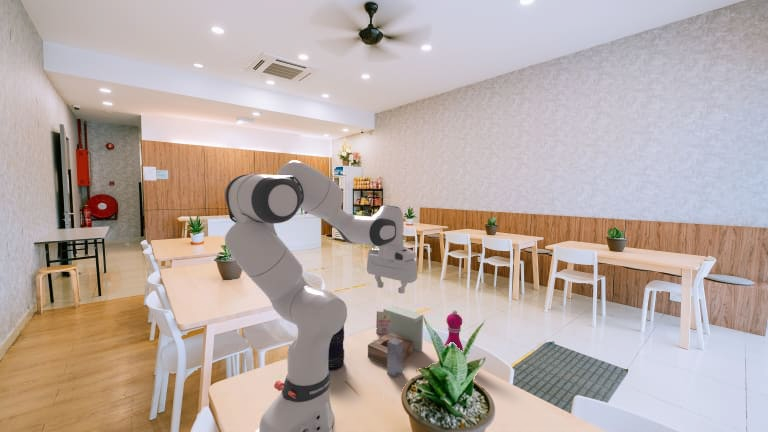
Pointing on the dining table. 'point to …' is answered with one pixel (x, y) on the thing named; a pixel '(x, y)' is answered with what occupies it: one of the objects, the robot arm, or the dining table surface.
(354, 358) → the dining table surface
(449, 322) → the pepper mill
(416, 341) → the pale green stepped block
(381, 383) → the dining table surface
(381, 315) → the tea bag
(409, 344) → the socket
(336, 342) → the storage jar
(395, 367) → the peg
